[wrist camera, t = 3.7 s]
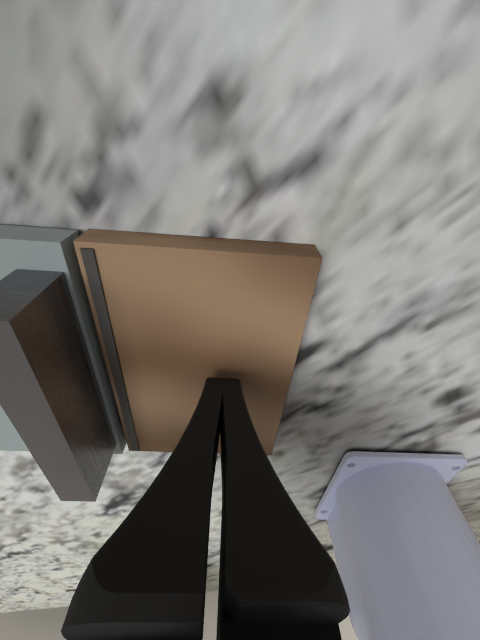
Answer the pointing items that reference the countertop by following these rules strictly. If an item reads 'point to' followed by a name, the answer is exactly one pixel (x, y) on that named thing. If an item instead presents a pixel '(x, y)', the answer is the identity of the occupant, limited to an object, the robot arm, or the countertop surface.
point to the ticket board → (195, 324)
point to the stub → (53, 364)
